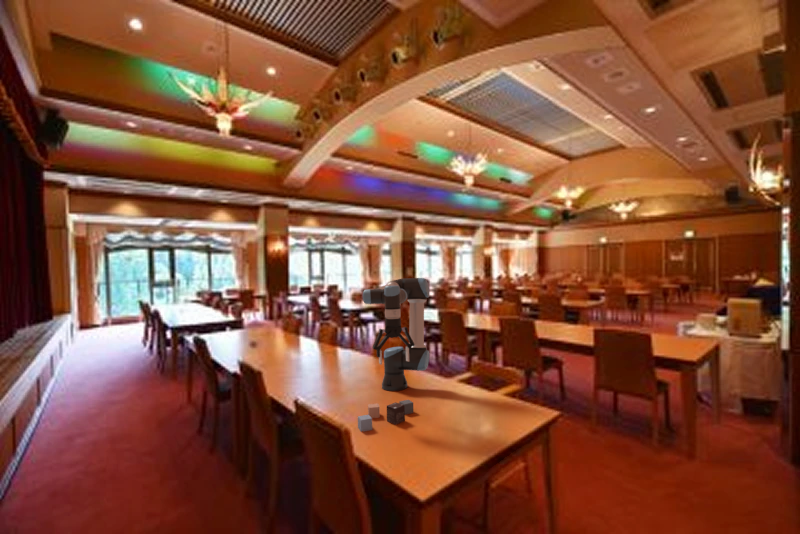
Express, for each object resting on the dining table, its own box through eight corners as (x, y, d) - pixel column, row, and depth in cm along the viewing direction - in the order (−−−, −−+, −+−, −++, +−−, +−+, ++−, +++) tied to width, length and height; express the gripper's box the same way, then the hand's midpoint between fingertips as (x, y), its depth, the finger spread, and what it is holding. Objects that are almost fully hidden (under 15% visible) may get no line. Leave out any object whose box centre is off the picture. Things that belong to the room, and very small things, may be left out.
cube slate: (357, 427, 167) (357, 416, 167) (368, 425, 169) (368, 414, 169) (361, 432, 163) (360, 420, 163) (372, 429, 164) (371, 418, 165)
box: (396, 417, 177) (395, 401, 178) (405, 421, 173) (404, 404, 173) (386, 421, 173) (386, 405, 173) (395, 425, 169) (395, 408, 169)
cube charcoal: (399, 411, 185) (399, 401, 185) (408, 409, 187) (408, 399, 188) (404, 414, 181) (404, 404, 181) (413, 412, 183) (413, 402, 183)
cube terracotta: (368, 414, 182) (367, 404, 182) (378, 413, 183) (378, 403, 183) (369, 418, 177) (368, 407, 178) (379, 417, 178) (379, 406, 178)
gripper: (369, 320, 174) (370, 366, 174) (420, 316, 182) (421, 361, 182) (365, 318, 181) (366, 363, 181) (414, 315, 189) (415, 358, 189)
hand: (394, 362), depth 181 cm, fingers open, 13 cm apart
